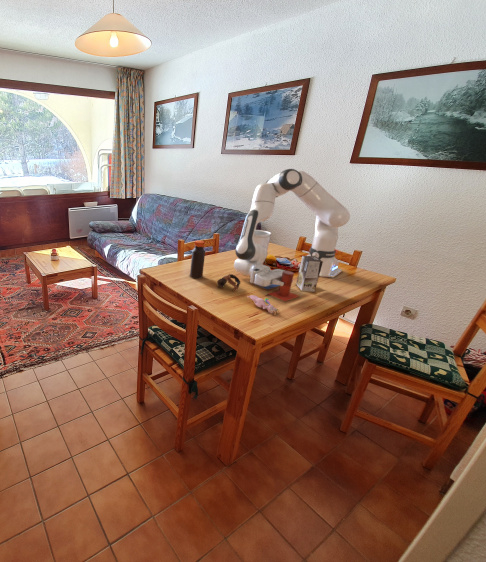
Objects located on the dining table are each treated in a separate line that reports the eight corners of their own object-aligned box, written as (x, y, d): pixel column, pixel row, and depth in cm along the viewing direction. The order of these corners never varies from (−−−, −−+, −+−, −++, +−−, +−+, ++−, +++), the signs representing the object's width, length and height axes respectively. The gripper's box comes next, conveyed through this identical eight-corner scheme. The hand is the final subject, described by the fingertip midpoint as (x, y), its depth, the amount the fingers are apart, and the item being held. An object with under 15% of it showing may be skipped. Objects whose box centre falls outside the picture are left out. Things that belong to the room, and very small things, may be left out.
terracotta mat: (281, 290, 155) (281, 289, 155) (299, 296, 148) (299, 295, 148) (267, 294, 150) (267, 293, 150) (284, 302, 143) (285, 301, 143)
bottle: (199, 279, 168) (203, 244, 160) (187, 276, 172) (191, 242, 164) (204, 276, 173) (208, 241, 165) (193, 273, 177) (196, 239, 169)
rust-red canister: (281, 290, 152) (286, 270, 148) (291, 294, 148) (296, 273, 144) (275, 292, 150) (280, 271, 145) (284, 296, 146) (290, 275, 142)
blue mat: (262, 279, 168) (263, 279, 168) (279, 286, 160) (279, 285, 160) (250, 283, 163) (250, 282, 163) (267, 290, 155) (267, 289, 155)
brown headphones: (225, 283, 164) (235, 272, 159) (234, 296, 159) (245, 286, 154) (209, 282, 158) (219, 270, 153) (219, 296, 152) (229, 285, 147)
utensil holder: (238, 254, 209) (242, 229, 202) (260, 255, 208) (265, 229, 202) (246, 261, 195) (250, 234, 188) (269, 262, 195) (275, 235, 188)
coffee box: (315, 292, 153) (323, 261, 147) (301, 291, 154) (308, 260, 148) (308, 285, 161) (316, 255, 155) (295, 284, 162) (302, 255, 156)
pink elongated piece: (279, 315, 134) (251, 297, 145) (284, 304, 131) (255, 286, 142) (271, 319, 131) (242, 300, 142) (275, 307, 128) (246, 289, 139)
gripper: (274, 275, 163) (299, 284, 152) (248, 283, 154) (272, 293, 142) (276, 264, 160) (302, 272, 149) (250, 271, 151) (275, 280, 140)
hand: (287, 283), depth 146 cm, fingers closed on rust-red canister, 5 cm apart
